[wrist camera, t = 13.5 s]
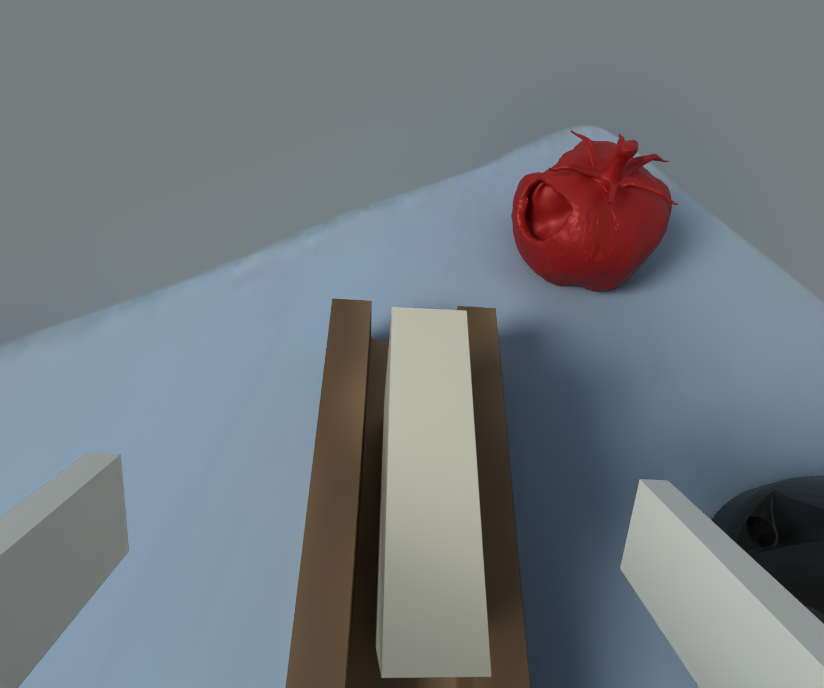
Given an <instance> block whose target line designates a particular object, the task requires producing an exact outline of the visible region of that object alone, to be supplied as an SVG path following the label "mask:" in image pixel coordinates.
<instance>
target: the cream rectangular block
mask: <svg viewBox="0 0 824 688" xmlns="http://www.w3.org/2000/svg"><path fill="white" fill-rule="evenodd" d="M375 646H376V651H377V656H378V662H379V667H380V672H381V677H382V678H420V677H491V664H490V649H489V634H488V620H487V605H486V590H485V575H484V560H483V546H482V531H481V516H480V501H479V486H478V472H477V457H476V442H475V427H474V412H473V398H472V383H471V368H470V353H469V338H468V324H467V311H464V310H443V309H423V308H403V307H392V313H391V325H390V337H389V349H388V361H387V373H386V385H385V397H384V409H383V422H382V450H381V479H380V507H379V536H378V565H377V593H376V622H375Z"/></svg>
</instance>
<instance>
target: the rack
mask: <svg viewBox="0 0 824 688" xmlns="http://www.w3.org/2000/svg"><path fill="white" fill-rule="evenodd" d="M371 304H372V301H364V300H347V299H332V306H331V315H330V323H329V331H328V340H327V348H326V356H325V365H324V373H323V381H322V390H321V398H320V406H319V415H318V423H317V431H316V439H315V448H314V456H313V464H312V473H311V481H310V489H309V498H308V506H307V514H306V523H305V531H304V539H303V548H302V556H301V564H300V573H299V581H298V589H297V597H296V606H295V614H294V622H293V631H292V639H291V647H290V656H289V664H288V672H287V681H286V688H530V680H529V669H528V658H527V647H526V636H525V625H524V614H523V603H522V592H521V581H520V570H519V559H518V548H517V537H516V526H515V515H514V504H513V493H512V483H511V472H510V461H509V450H508V439H507V428H506V417H505V406H504V395H503V384H502V373H501V362H500V351H499V340H498V329H497V318H496V308H482V307H465V306H458V307H457V310H464V311H467V324H468V338H469V353H470V368H471V383H472V398H473V412H474V427H475V442H476V457H477V472H478V486H479V501H480V516H481V531H482V546H483V560H484V575H485V590H486V605H487V620H488V634H489V649H490V664H491V677H420V678H382V677H381V672H380V667H379V662H378V656H377V651H376V646H375V622H376V593H377V565H378V536H379V507H380V479H381V450H382V422H383V409H384V397H385V385H386V373H387V361H388V349H389V341H388V340H371Z"/></svg>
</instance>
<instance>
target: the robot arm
mask: <svg viewBox="0 0 824 688" xmlns="http://www.w3.org/2000/svg"><path fill="white" fill-rule="evenodd" d="M128 551H129V545H128V533H127V522H126V510H125V498H124V487H123V475H122V463H121V454H106V453H87V454H86V455H84V456H83V457H82V458H80V459H79V460H78V461H76V462H75V463H74V464H72V465H71V466H70V467H68V468H67V469H66V470H64V471H63V472H62V473H60V474H59V475H57V476H56V477H55V478H53V479H52V480H51V481H49V482H48V483H47V484H45V485H44V486H43V487H41V488H40V489H39V490H37V491H36V492H35V493H33V494H32V495H31V496H29V497H28V498H27V499H25V500H24V501H23V502H21V503H20V504H19V505H17V506H16V507H14V508H13V509H12V510H10V511H9V512H8V513H6V514H5V515H4V516H2V517H1V518H0V688H18V687H19V686H20V685H21V683H22V682H23V681H24V680H25V678H26V677H27V676H28V675H29V674H30V672H31V671H32V670H33V669H34V667H35V666H36V665H37V664H38V662H39V661H40V660H41V659H42V658H43V656H44V655H45V654H46V653H47V651H48V650H49V649H50V648H51V646H52V645H53V644H54V643H55V641H56V640H57V639H58V638H59V637H60V635H61V634H62V633H63V632H64V630H65V629H66V628H67V627H68V625H69V624H70V623H71V622H72V621H73V619H74V618H75V617H76V616H77V614H78V613H79V612H80V611H81V609H82V608H83V607H84V606H85V605H86V603H87V602H88V601H89V600H90V598H91V597H92V596H93V595H94V593H95V592H96V591H97V590H98V588H99V587H100V586H101V585H102V584H103V582H104V581H105V580H106V579H107V577H108V576H109V575H110V574H111V572H112V571H113V570H114V569H115V568H116V566H117V565H118V564H119V563H120V561H121V560H122V559H123V558H124V556H125V555H126V554H127V553H128ZM620 569H621V571H622V572H623V574H624V575H625V577H626V578H627V580H628V581H629V583H630V584H631V586H632V587H633V589H634V590H635V592H636V593H637V595H638V596H639V598H640V599H641V601H642V602H643V604H644V605H645V607H646V608H647V610H648V611H649V613H650V614H651V616H652V617H653V619H654V620H655V622H656V623H657V625H658V626H659V628H660V629H661V631H662V632H663V634H664V635H665V637H666V638H667V640H668V641H669V643H670V644H671V646H672V647H673V649H674V650H675V652H676V653H677V655H678V656H679V658H680V659H681V661H682V662H683V664H684V665H685V667H686V668H687V670H688V671H689V673H690V674H691V676H692V677H693V679H694V680H695V682H696V683H697V685H698V686H699V688H824V476H811V477H800V478H792V479H787V480H783V481H779V482H776V483H772V484H769V485H766V486H762V487H759V488H755V489H752V490H749V491H747V492H744V493H742V494H741V495H739V496H737V497H735V498H734V499H732V500H731V501H729V502H728V503H727V504H726V505H724V506H723V507H722V508H721V509H720V510H719V511H718V512H717V514H716V515H715V516H714V517H713V519H712V520H710V519H709V518H708V517H707V516H706V515H705V514H704V513H703V512H702V511H701V510H700V509H698V508H697V507H696V506H695V505H694V504H693V503H692V502H691V501H690V500H689V499H688V498H686V497H685V496H684V495H683V494H682V493H681V492H680V491H679V490H678V489H677V488H676V487H675V486H673V485H672V484H671V483H670V482H669V481H668V480H648V479H640V480H639V485H638V489H637V494H636V498H635V503H634V507H633V512H632V517H631V521H630V526H629V530H628V535H627V539H626V544H625V548H624V553H623V557H622V562H621V566H620Z"/></svg>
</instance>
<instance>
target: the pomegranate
mask: <svg viewBox="0 0 824 688" xmlns="http://www.w3.org/2000/svg"><path fill="white" fill-rule="evenodd" d="M570 132H572V133H573V134H575V135H576V136H578V137H580V138H581V139H582V140H583V141H581V142H580V143H579V144H578V145H577V146H575V147H574V149H573V150H570V151H568V152H566V153H564V154H563V155H562V157H561V158H560V159H559V161H558V163H557V164H556V165H555V166H553V167H552V168H549V169H548V170H547V171H545V172H544V173H539V172H537V173H532V174H528V175H526V176H524V177H523V178H522V179H521V181H520V182H519V184H518V187H517V190H516V192H515V196H514V200H513V210H512V215H511V216H512V221H513V233H514V238H515V242H516V245H517V248H518V250H519V252H520V254H521V256H522V258H523V259H524V260H525V262H526V263H527V264H528V265H529V266H530V268H531V269H532V270H533V271H534V272H535V273H536V274H538V275H539V276H541V277H542V278H544V279H545V280H546V281H548V282H550V283H552V284H555V285H559V286H563V285H579V286H582V287H584V288H586V289H590V290H592V291H604V290H610V289H614V288H616V287H618V286H620V285H621V284H623V283H624V282H626V281H627V280H628V279H629V277H630V276H631V275H632V274H633V273H634V272H635V271H636V270H637V269H638V268H639V266H640V265H641V264H642V263H643V262H644V261H645V260H646V259H647V258H648V256H649V255H650V254H651V253H652V252H653V251H654V250H655V248H656V247H657V246H658V245H659V243H660V242H661V240H662V238H663V236H664V234H665V232H666V230H667V226H668V221H669V217H670V214H671V208H672V204H674V205H678V204H679V203H675V202H673V201H672V200H671V195H670V192H669V189H668V187H667V186H666V185H665V184H664V183H663V182H662V181H661V180H659V179H657V178H656V177H654V176H653V175H651V173H650V172H648V170H647V169H645V168H644V167H643V165H645V164H646V163H648V162H650V161H652V160H655V161H662V162H668V161H665V160H663V159H661V158H660V157H659V156H658V155H656V154H652V155H647V156H640V157H635V158H633V156H634V155H635V154H636V153H637V150H638V143H637V141H635V140H630V141H625V140H624V137H623V136H621V135H620V134H619V137H620V138H619V140H618V143H617V145H616V144H615V143H612V142H609V141H591V140H590V139H589V138H587V137H585V136H583V135H580V134H577V133H575V132H573V131H570Z"/></svg>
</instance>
